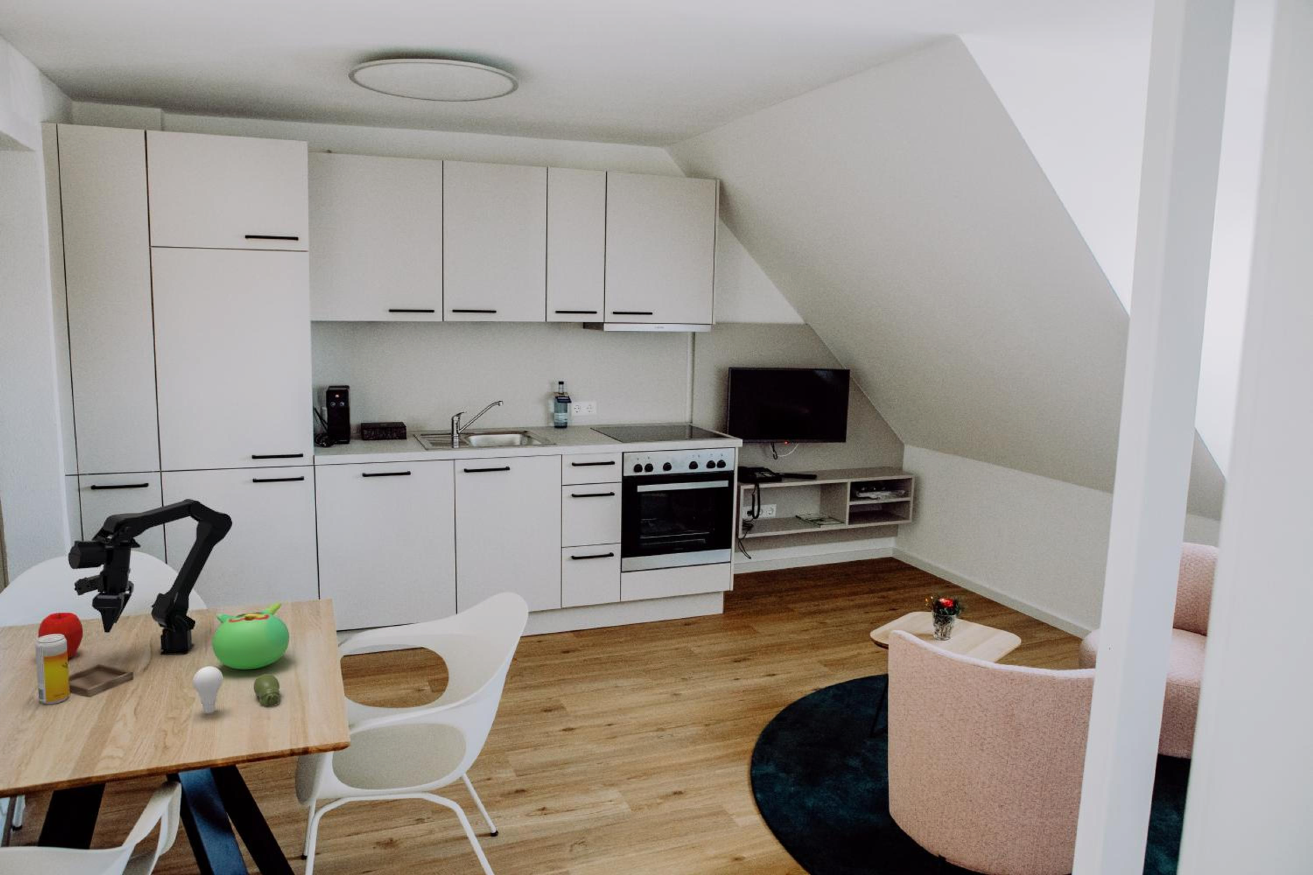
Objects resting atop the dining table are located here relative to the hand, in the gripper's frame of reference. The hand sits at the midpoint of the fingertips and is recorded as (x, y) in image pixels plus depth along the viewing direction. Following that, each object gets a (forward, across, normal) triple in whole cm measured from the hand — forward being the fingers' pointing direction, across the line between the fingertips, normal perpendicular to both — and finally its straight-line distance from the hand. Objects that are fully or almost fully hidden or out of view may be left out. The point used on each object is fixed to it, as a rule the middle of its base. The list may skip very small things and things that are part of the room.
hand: (110, 627), depth 230 cm
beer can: (+14, +15, -8) cm, 21 cm away
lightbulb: (+11, +33, +26) cm, 43 cm away
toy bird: (+8, +6, +34) cm, 35 cm away
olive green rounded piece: (+10, +28, +38) cm, 49 cm away
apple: (+12, -13, -12) cm, 21 cm away
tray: (+12, +7, -1) cm, 14 cm away
